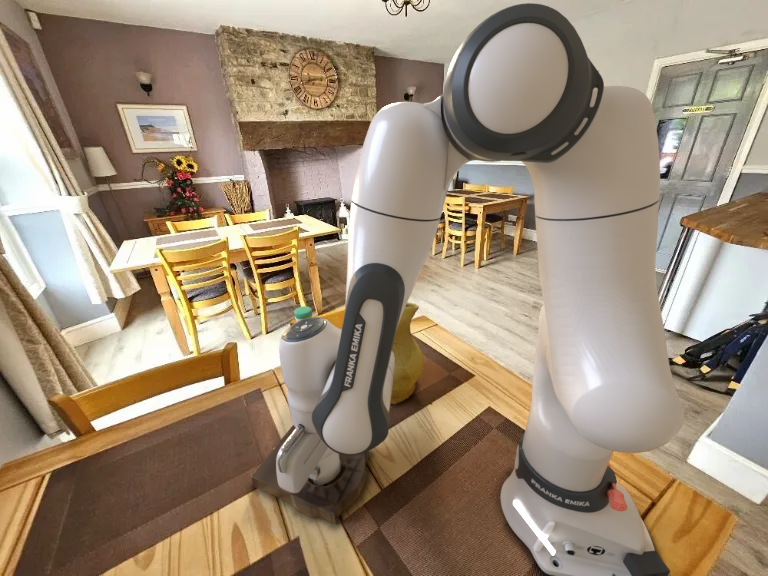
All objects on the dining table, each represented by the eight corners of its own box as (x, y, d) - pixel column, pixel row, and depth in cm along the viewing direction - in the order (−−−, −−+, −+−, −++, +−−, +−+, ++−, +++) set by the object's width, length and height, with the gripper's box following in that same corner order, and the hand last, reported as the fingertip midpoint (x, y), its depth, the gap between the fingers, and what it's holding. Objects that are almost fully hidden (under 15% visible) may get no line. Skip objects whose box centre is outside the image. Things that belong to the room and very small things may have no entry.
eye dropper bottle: (340, 484, 59) (334, 440, 54) (310, 487, 59) (302, 443, 54) (341, 463, 63) (336, 420, 58) (313, 465, 63) (306, 423, 58)
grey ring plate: (377, 455, 65) (377, 445, 64) (342, 532, 52) (340, 521, 51) (299, 427, 72) (298, 418, 70) (251, 489, 59) (248, 479, 58)
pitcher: (406, 420, 72) (403, 326, 63) (343, 396, 81) (331, 310, 72) (434, 378, 86) (434, 295, 77) (376, 361, 95) (370, 285, 86)
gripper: (294, 463, 44) (306, 521, 49) (358, 372, 61) (362, 423, 67) (259, 449, 46) (275, 506, 52) (330, 365, 63) (336, 415, 69)
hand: (324, 459), depth 59 cm, fingers closed on eye dropper bottle, 5 cm apart
